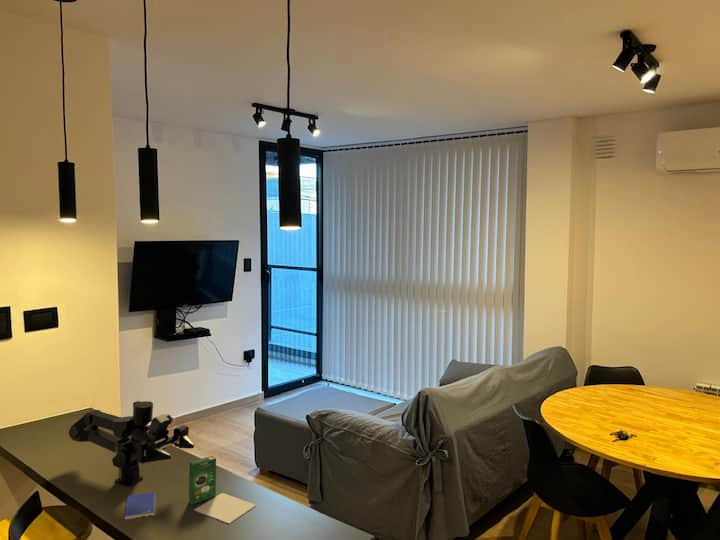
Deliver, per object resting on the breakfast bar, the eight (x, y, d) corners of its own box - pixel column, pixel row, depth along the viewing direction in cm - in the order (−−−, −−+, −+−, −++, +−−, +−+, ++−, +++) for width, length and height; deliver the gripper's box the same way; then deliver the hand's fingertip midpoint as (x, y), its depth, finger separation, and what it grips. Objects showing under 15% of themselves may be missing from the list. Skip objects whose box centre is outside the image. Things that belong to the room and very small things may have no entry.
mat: (194, 510, 167) (194, 509, 167) (222, 493, 178) (222, 492, 178) (229, 524, 160) (229, 523, 160) (256, 505, 171) (256, 504, 171)
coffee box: (212, 493, 178) (212, 454, 176) (216, 497, 175) (216, 457, 174) (188, 501, 172) (188, 461, 171) (192, 505, 170) (192, 464, 169)
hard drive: (154, 511, 164) (155, 492, 176) (124, 515, 162) (127, 495, 173) (154, 516, 164) (155, 496, 176) (124, 521, 162) (127, 500, 173)
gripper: (124, 421, 169) (159, 437, 162) (172, 404, 186) (206, 418, 178) (122, 455, 171) (157, 472, 164) (170, 435, 187) (203, 450, 180)
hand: (182, 451), depth 171 cm, fingers open, 9 cm apart
